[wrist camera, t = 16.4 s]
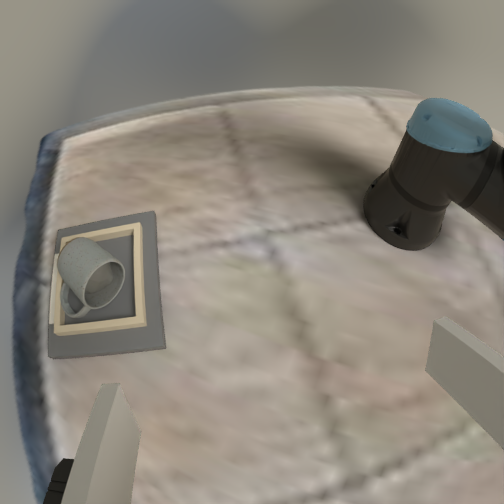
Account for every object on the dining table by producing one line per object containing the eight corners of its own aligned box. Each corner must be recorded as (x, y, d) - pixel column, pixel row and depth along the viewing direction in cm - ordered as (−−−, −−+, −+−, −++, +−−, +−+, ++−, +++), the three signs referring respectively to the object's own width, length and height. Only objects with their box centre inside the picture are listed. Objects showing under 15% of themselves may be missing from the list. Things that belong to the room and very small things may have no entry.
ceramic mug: (98, 250, 45) (78, 221, 38) (132, 277, 43) (114, 250, 36) (55, 300, 41) (28, 279, 34) (87, 333, 39) (60, 315, 32)
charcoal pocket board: (156, 216, 50) (152, 204, 48) (166, 348, 40) (160, 342, 37) (61, 234, 48) (54, 225, 46) (53, 359, 37) (42, 354, 35)
